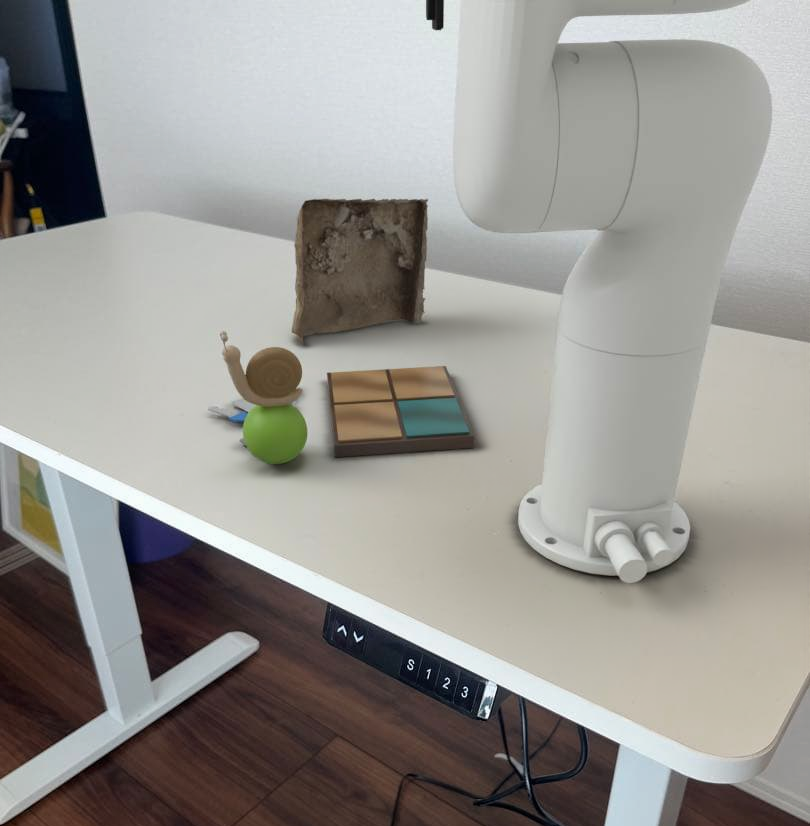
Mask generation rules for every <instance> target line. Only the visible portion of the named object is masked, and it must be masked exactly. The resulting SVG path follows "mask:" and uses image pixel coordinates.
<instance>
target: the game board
mask: <svg viewBox="0 0 810 826" xmlns="http://www.w3.org/2000/svg"><path fill="white" fill-rule="evenodd" d="M326 379H327V380H326V381H327V391H328V401H329V410H330V419H331V420H330V421H331V430H332V431H331V432H332V439H333V449H334V457H335V458H342V457H343V458H344V457H357V456H359V457H360V456H373V455H374V456H375V455H388V454H389V455H391V454H402V453H418V452H419V453H420V452H430V451H431V452H435V451H446V450H448V451H449V450H463V449H474V448H475V441H476V439H475V438H476V437H475V436H476V435H475V433H474V431H473V429H472V426H471V424H470V422H469V419H468V416H467V415H466V414H467V413H466V412H465V409H464V407H463V405H462V402H461V400H460V397H459V395H458V392H457V390H456V388H455V384H454V383H453V379H452V378H451V376H450V373H449V370H448V368H447V365H437V366H436V365H435V366H420V367H419V366H417V367H404V368H403V367H402V368H386V369H385V368H383V369H369V370H368V369H367V370H353V371H352V370H350V371H349V370H348V371H334V372H333V371H332V372H326Z"/></svg>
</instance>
